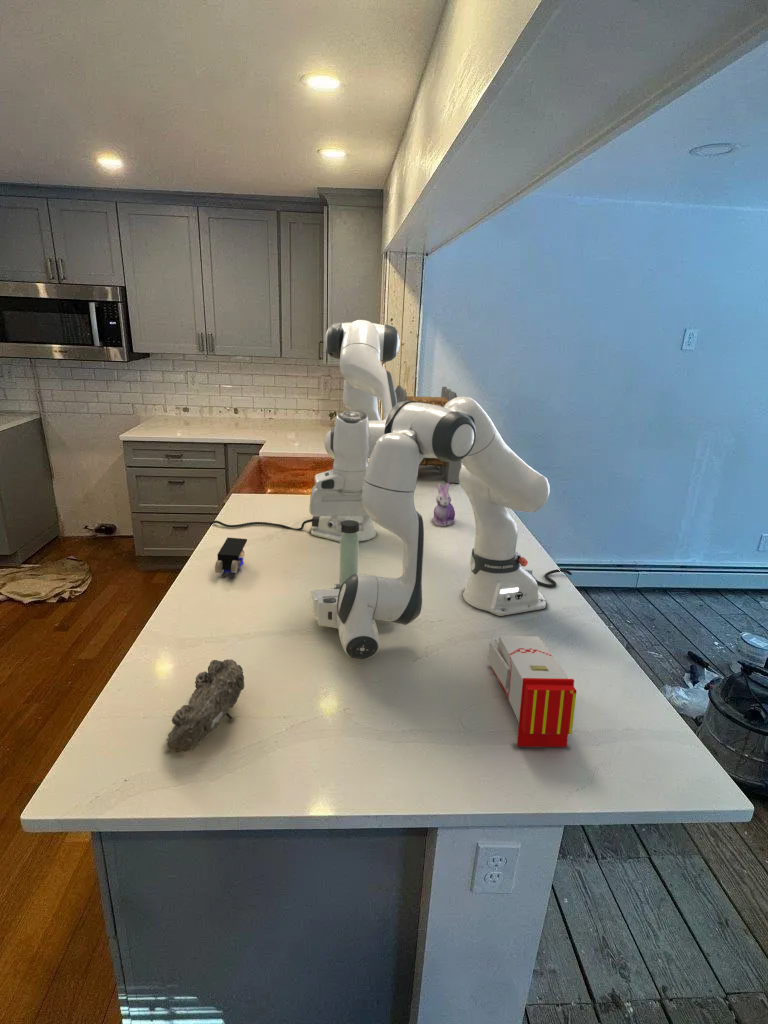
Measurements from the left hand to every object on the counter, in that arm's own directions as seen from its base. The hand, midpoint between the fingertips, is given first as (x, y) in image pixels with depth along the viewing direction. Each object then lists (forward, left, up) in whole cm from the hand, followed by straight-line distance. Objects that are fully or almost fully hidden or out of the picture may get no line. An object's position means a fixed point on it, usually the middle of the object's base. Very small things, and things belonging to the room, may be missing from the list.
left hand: (349, 531), depth 144 cm
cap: (0, 0, +2) cm, 2 cm away
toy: (+47, -25, -21) cm, 57 cm away
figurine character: (-39, +8, -21) cm, 45 cm away
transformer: (-10, +134, -21) cm, 136 cm away
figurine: (+13, +71, -21) cm, 76 cm away
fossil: (-10, -50, -21) cm, 55 cm away
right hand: (0, +1, -16) cm, 16 cm away
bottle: (0, 0, -21) cm, 21 cm away
